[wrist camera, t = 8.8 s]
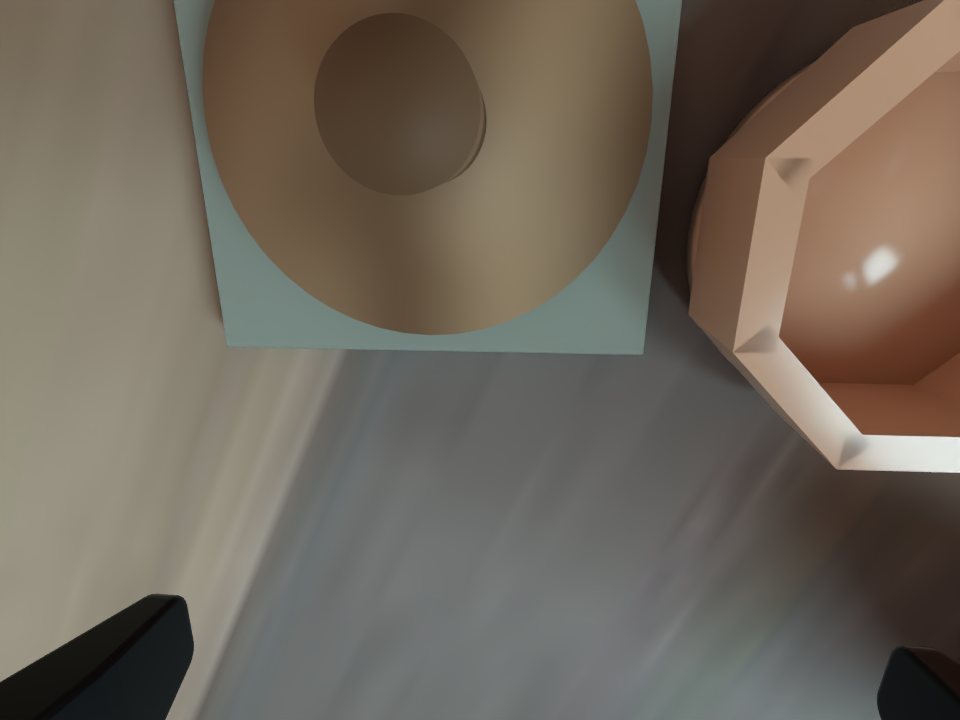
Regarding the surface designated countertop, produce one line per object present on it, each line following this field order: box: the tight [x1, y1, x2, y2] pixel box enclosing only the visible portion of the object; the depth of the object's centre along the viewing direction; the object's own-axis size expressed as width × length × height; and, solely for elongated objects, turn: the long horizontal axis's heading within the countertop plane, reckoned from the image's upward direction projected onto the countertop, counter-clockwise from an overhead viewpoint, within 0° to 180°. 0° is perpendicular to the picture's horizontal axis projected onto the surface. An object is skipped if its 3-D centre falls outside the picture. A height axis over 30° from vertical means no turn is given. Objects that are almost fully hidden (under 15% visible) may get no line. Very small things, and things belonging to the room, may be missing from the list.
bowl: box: [686, 0, 960, 473], centre depth 15 cm, size 11×11×4 cm
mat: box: [174, 0, 682, 355], centre depth 16 cm, size 13×13×1 cm
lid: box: [202, 0, 653, 335], centre depth 13 cm, size 12×12×5 cm
